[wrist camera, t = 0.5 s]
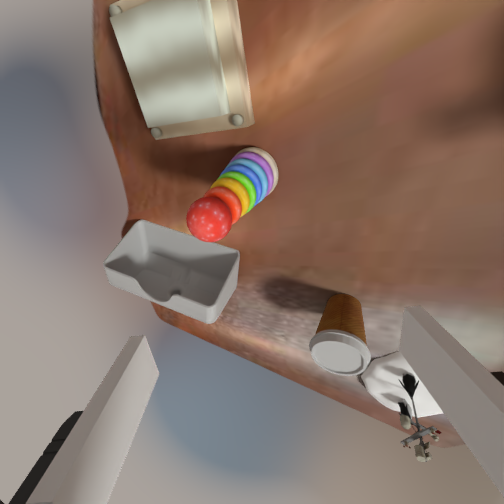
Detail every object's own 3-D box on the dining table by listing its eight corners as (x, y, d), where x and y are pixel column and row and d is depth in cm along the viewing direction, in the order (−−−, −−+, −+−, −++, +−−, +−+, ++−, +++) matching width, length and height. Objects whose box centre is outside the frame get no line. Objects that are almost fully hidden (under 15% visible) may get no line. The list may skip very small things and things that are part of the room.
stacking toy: (232, 190, 44) (167, 248, 30) (234, 141, 39) (157, 183, 25) (276, 200, 42) (228, 267, 28) (283, 150, 37) (229, 201, 23)
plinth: (126, 9, 34) (89, 0, 30) (231, -35, 28) (205, -55, 24) (166, 135, 43) (142, 144, 38) (254, 123, 37) (238, 131, 32)
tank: (149, 270, 67) (113, 304, 57) (139, 218, 57) (93, 248, 47) (236, 303, 61) (212, 346, 52) (242, 251, 51) (213, 292, 42)
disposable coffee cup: (353, 329, 52) (349, 384, 43) (311, 308, 53) (298, 357, 44) (381, 302, 46) (384, 360, 37) (333, 279, 47) (324, 329, 38)
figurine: (432, 422, 58) (452, 514, 45) (351, 388, 63) (348, 463, 49) (486, 370, 48) (534, 471, 34) (384, 334, 52) (392, 411, 39)
